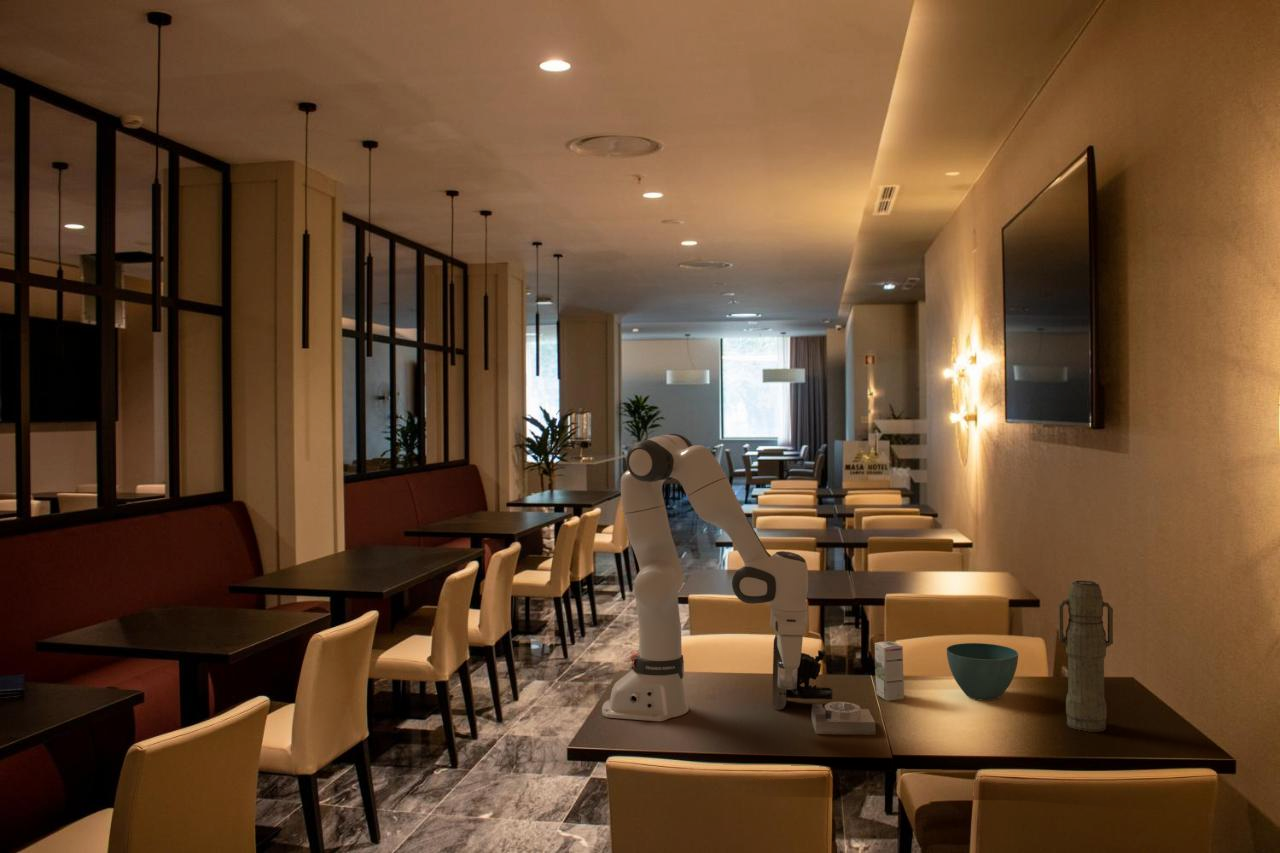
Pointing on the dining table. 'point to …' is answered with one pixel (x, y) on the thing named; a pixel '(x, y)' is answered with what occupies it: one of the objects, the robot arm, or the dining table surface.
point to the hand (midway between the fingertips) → (787, 676)
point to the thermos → (1086, 655)
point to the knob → (781, 680)
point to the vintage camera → (799, 680)
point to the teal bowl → (982, 668)
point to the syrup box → (889, 670)
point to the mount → (842, 719)
